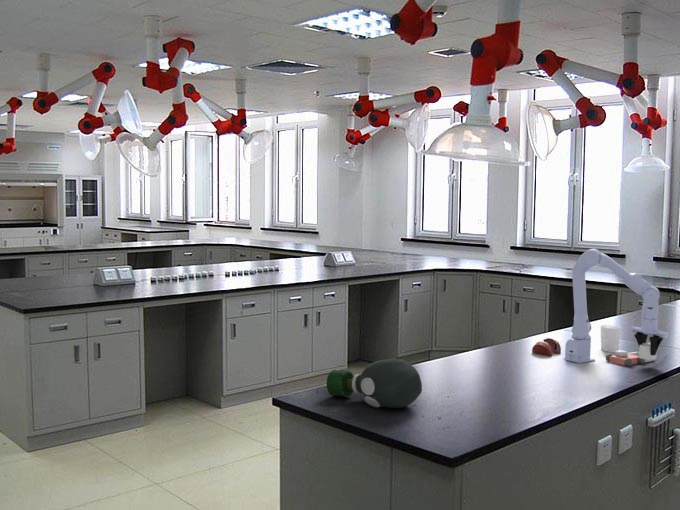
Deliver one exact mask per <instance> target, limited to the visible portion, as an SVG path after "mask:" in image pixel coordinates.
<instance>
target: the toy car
mask: <svg viewBox="0 0 680 510" xmlns="http://www.w3.org/2000/svg"><path fill="white" fill-rule="evenodd" d="M605 360H606V362H609V363H612V364H614V365H615V364H616V365H619V366H624V367H630V366H632V365H636V364H641V365H643V364H644V363H649V362H654V361H655V359H651V360H646V359H642V358H639V351H633V352H628V351H626V350H620V349H619V350H617V351H616V352H614V355H613V354H612V353H606V355H605Z"/></svg>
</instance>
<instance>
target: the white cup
mask: <svg viewBox="0 0 680 510" xmlns="http://www.w3.org/2000/svg"><path fill="white" fill-rule="evenodd" d="M621 330H622V327H621V326H619V325H614V324H613V325H612V324H603V325H600V343H601V344H600V347H601V350H602V351H604V352H609V351H611V352H612V353H613V351H614V353H616V352H615V351H617V350H620V349H619V348H620V342H621V341H620V339H621Z"/></svg>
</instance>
